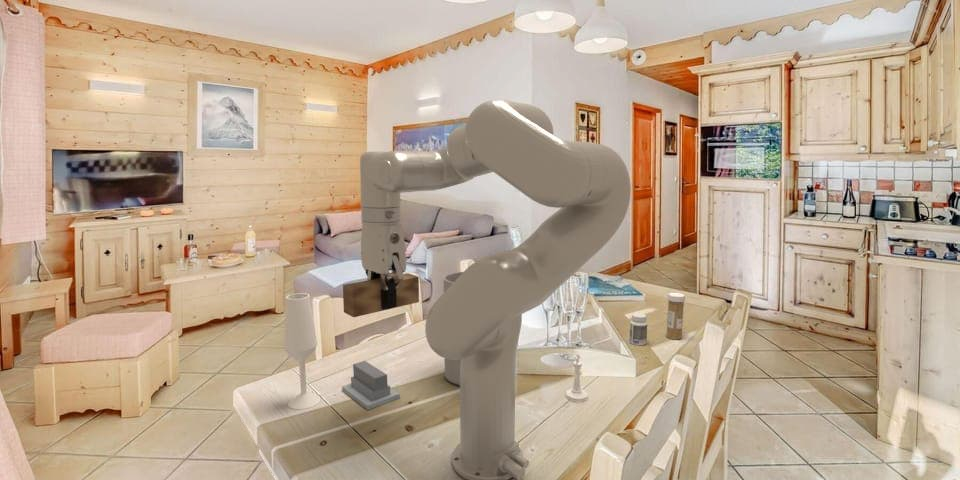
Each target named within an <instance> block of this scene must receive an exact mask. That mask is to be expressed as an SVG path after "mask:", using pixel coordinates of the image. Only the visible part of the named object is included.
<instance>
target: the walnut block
mask: <svg viewBox="0 0 960 480" xmlns="http://www.w3.org/2000/svg"><path fill="white" fill-rule="evenodd" d="M403 275H404V279H402V280H401V281H400V282H399V284H398V288H396V300H397V306H396V307H394V308H390V309H385V310H383V309H382V308H381V290H383V284H382V278H378V279H373V280H367V279H366V280H363V281H358V282H352V283H346V284H342V298H343V300H342V301H343V302H342V303H343V313H345V314H346V315H348V316H351V317H352V318H357V317H361V316H365V315H371V314H374V313H378V312H382V311H388V310H391V309H395V308H400V307H405V306H409V305H413V304H416V303H419V302H420V289H419V288H420V287H419V285H420V281H419V280H420V277H419V275H414V274H411V273H408V272H406V273H403ZM390 278H392V277H391V276H390V277H387V280H388V281H389V279H390Z"/></svg>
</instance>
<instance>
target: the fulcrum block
mask: <svg viewBox="0 0 960 480" xmlns="http://www.w3.org/2000/svg"><path fill="white" fill-rule="evenodd" d="M352 370H353V376H351V377H350V383H348V384H346V385H342V386H341V388H342V389H341V391H342V392H343V393H345V394H346V395H348V397H350V398H352V399H353V400H354V401H355V402H357V404H359V405H360V406H362V407H363V408H365V409H366V411H369V410H372V409H374V408H377V407H380V406H383V405H385V404H388V403H390V402H394V401H396V400H398V399H401V393H399V392H398V391H396V390H394V388H393V387H391V385H389V384H388V374H387V373H385V372H383V371H382V370H381V369H379V368H377V367H376V366H375V365H372V364H371V363H369V362H367V361H366V360H363V361H360V362H356V363H353V364H352Z"/></svg>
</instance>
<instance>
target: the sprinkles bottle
mask: <svg viewBox="0 0 960 480" xmlns="http://www.w3.org/2000/svg"><path fill="white" fill-rule="evenodd" d="M685 299H686V296H685V294H684V293H680V292H669V293H668V296H667V301H668V304H667V305H668V307H667V318H666V319H667V320H666V335H665V337H666V338H668V339H670V340H676V341H677V340H681V339H682V338H683V325H684V324H683V323H684V306H685V305H684V304H685Z"/></svg>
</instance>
